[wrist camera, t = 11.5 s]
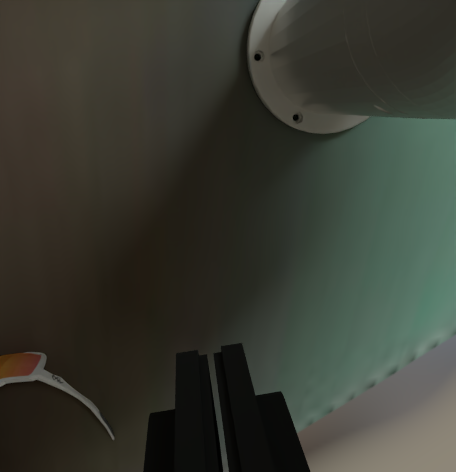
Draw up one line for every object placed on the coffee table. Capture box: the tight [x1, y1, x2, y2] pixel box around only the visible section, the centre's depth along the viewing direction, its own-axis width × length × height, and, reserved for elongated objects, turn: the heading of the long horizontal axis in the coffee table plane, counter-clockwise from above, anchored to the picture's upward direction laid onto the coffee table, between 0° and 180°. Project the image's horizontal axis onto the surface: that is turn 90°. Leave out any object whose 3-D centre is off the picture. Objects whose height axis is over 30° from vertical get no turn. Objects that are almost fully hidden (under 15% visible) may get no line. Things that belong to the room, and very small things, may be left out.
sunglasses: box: [0, 352, 114, 440], centre depth 38 cm, size 14×15×5 cm
